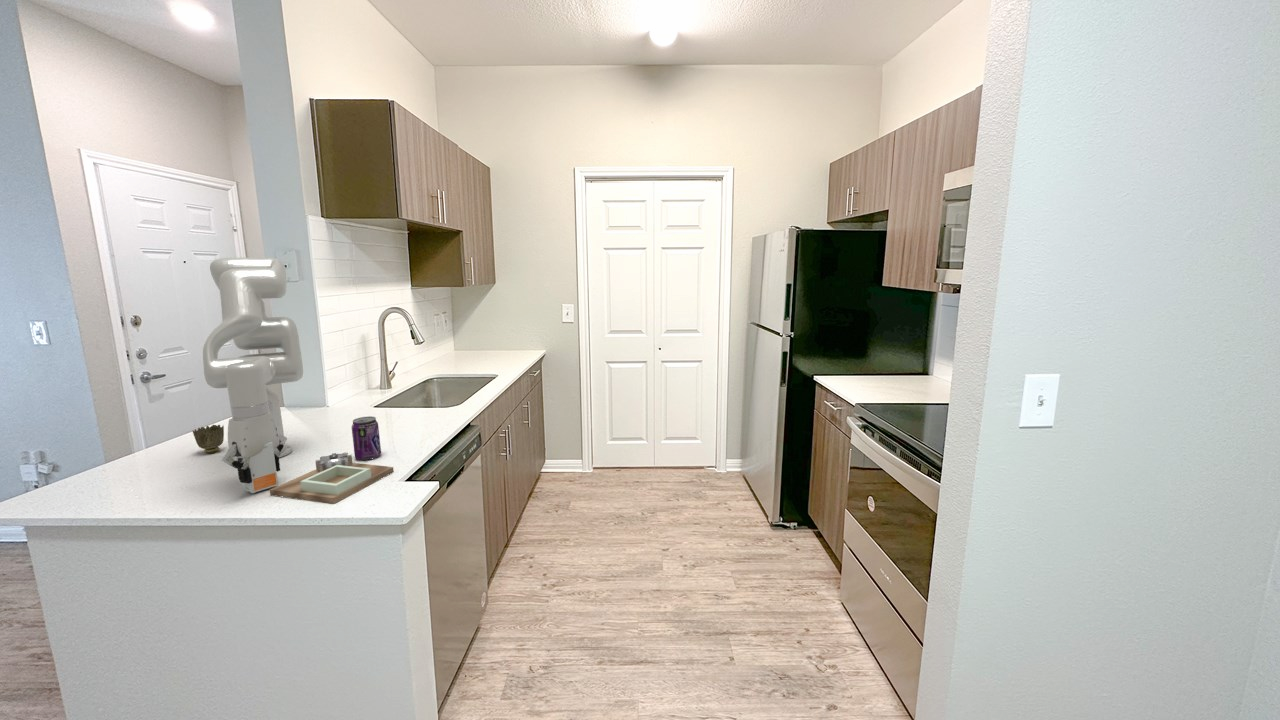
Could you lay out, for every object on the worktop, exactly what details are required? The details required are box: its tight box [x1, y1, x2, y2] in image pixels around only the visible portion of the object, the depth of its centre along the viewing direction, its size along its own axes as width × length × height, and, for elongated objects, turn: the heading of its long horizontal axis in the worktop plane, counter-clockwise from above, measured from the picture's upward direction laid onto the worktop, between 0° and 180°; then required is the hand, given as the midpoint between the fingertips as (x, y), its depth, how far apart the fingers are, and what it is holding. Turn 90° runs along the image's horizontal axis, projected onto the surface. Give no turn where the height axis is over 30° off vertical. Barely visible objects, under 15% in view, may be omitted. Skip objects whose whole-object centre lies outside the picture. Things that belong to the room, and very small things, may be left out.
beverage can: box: [351, 416, 382, 461], centre depth 151 cm, size 7×7×12 cm
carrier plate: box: [269, 462, 395, 505], centre depth 133 cm, size 20×20×2 cm
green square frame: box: [300, 465, 371, 495], centre depth 129 cm, size 11×11×2 cm
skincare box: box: [242, 442, 279, 494], centre depth 129 cm, size 6×4×12 cm
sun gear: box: [314, 452, 353, 472], centre depth 140 cm, size 9×9×4 cm
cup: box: [192, 424, 225, 454], centre depth 157 cm, size 8×7×8 cm
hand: (260, 476), depth 129 cm, fingers closed on skincare box, 6 cm apart
